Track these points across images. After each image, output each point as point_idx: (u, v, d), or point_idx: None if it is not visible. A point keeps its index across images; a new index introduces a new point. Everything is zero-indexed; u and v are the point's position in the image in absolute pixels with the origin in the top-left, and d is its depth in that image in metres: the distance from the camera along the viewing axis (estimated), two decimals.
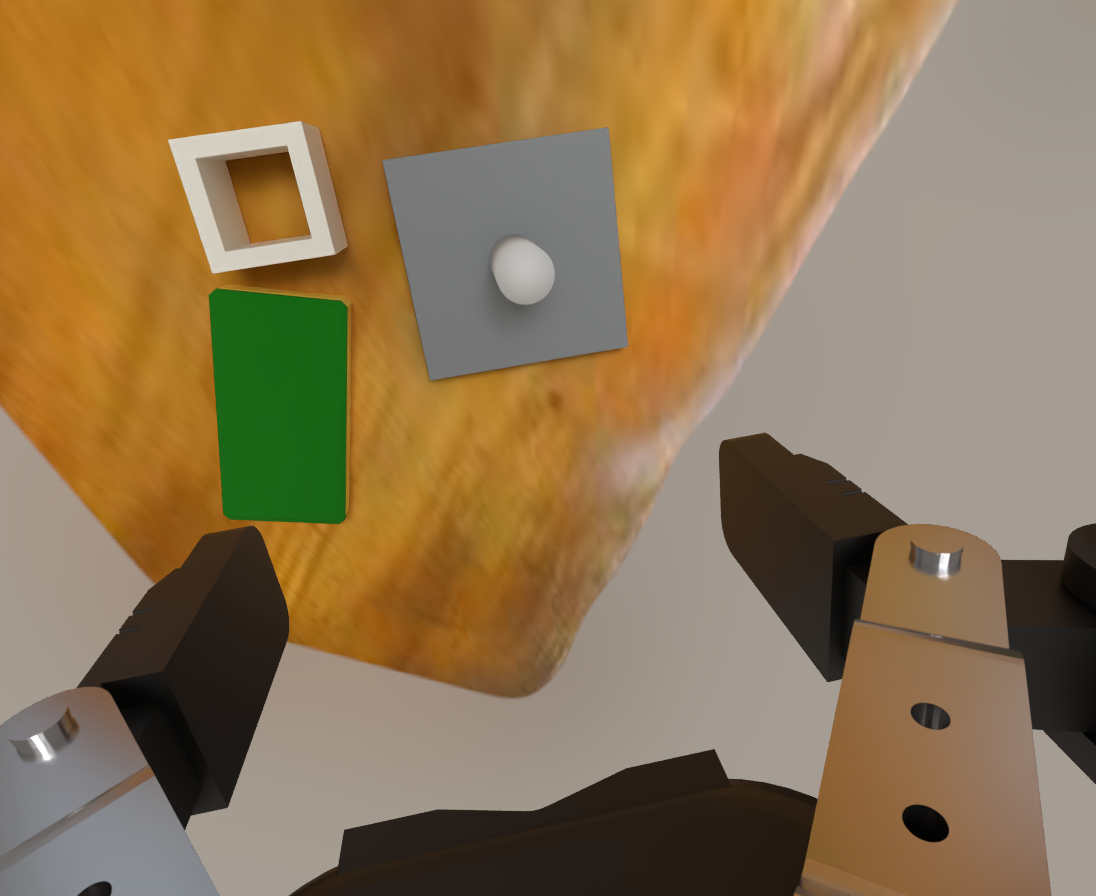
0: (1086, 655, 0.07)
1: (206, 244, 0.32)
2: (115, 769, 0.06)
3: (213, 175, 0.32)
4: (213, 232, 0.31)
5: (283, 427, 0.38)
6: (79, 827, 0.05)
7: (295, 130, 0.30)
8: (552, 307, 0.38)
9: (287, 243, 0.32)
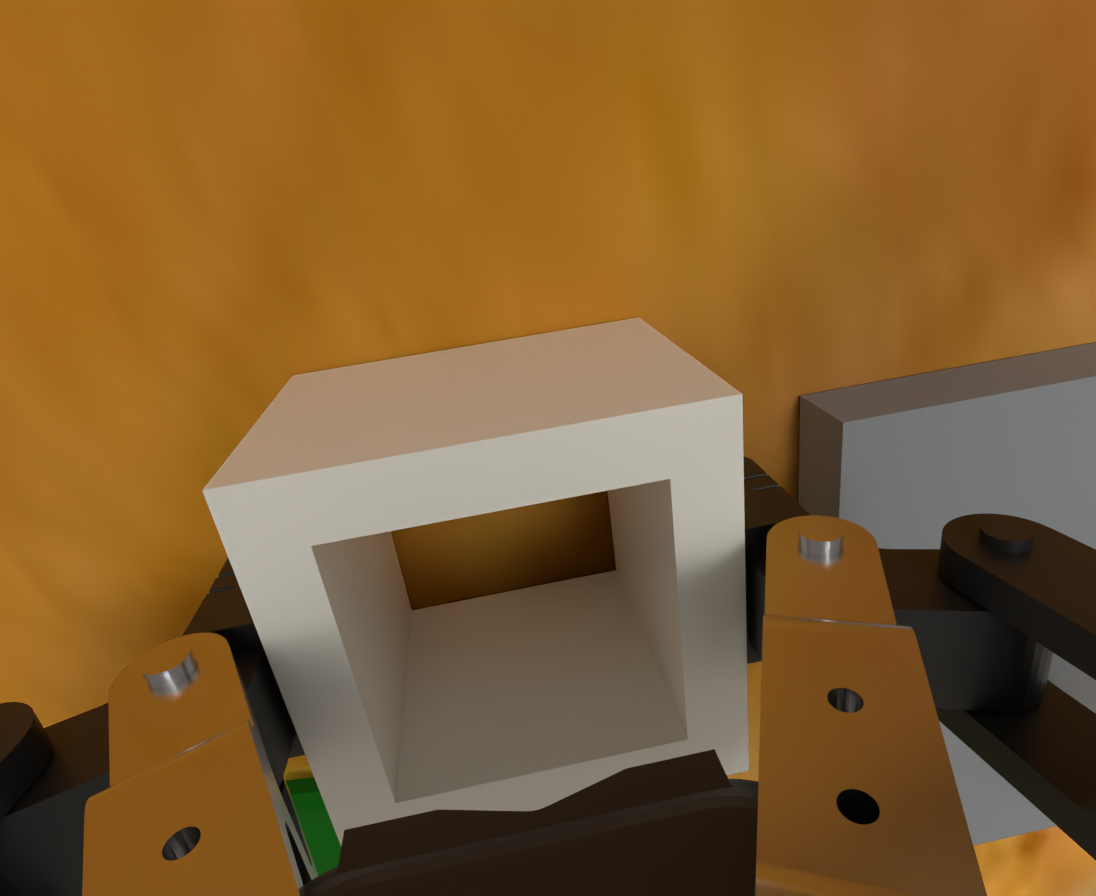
0: (953, 636, 0.07)
1: (332, 790, 0.09)
2: (247, 698, 0.07)
3: None
4: (360, 757, 0.09)
5: None
6: (182, 770, 0.05)
7: (713, 427, 0.08)
8: None
9: (605, 759, 0.09)
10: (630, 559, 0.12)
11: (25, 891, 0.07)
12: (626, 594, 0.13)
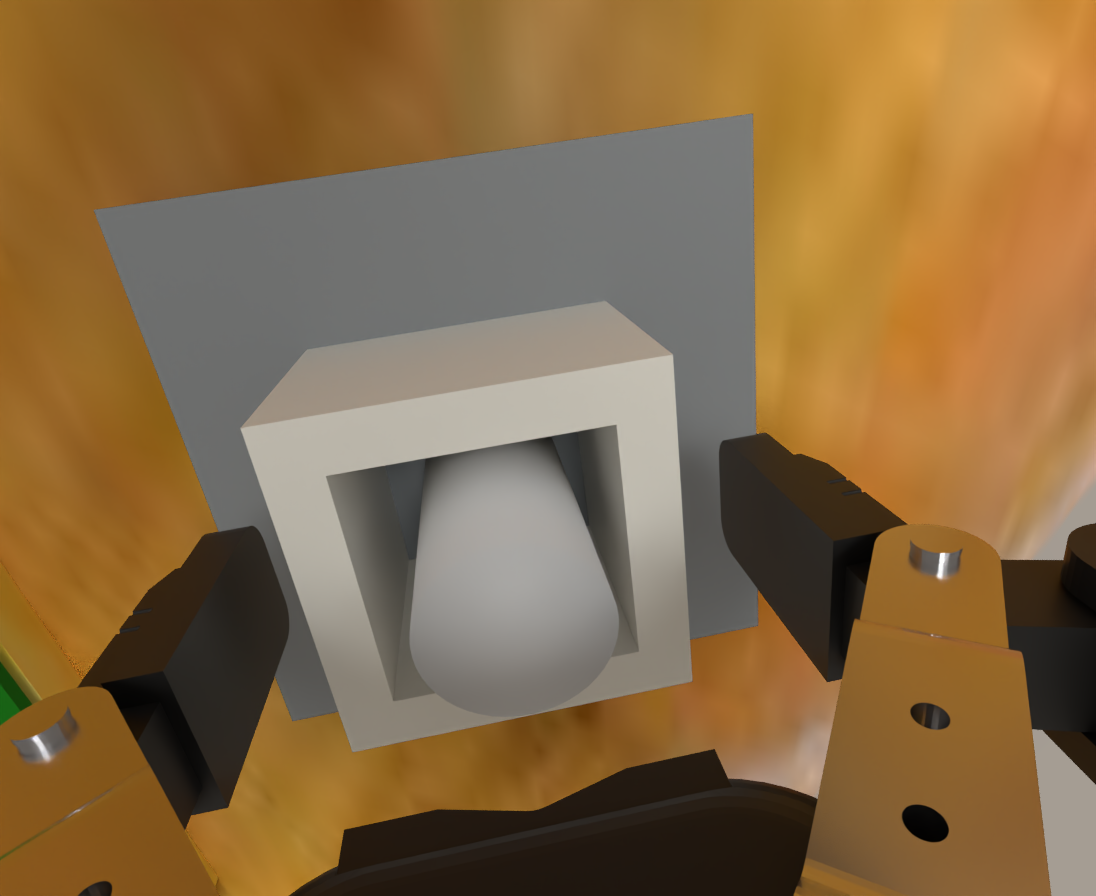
0: (1086, 655, 0.07)
1: (341, 689, 0.11)
2: (115, 769, 0.06)
3: None
4: (364, 660, 0.10)
5: None
6: (80, 827, 0.05)
7: (650, 382, 0.09)
8: None
9: None
10: (597, 510, 0.13)
11: None
12: (596, 544, 0.14)
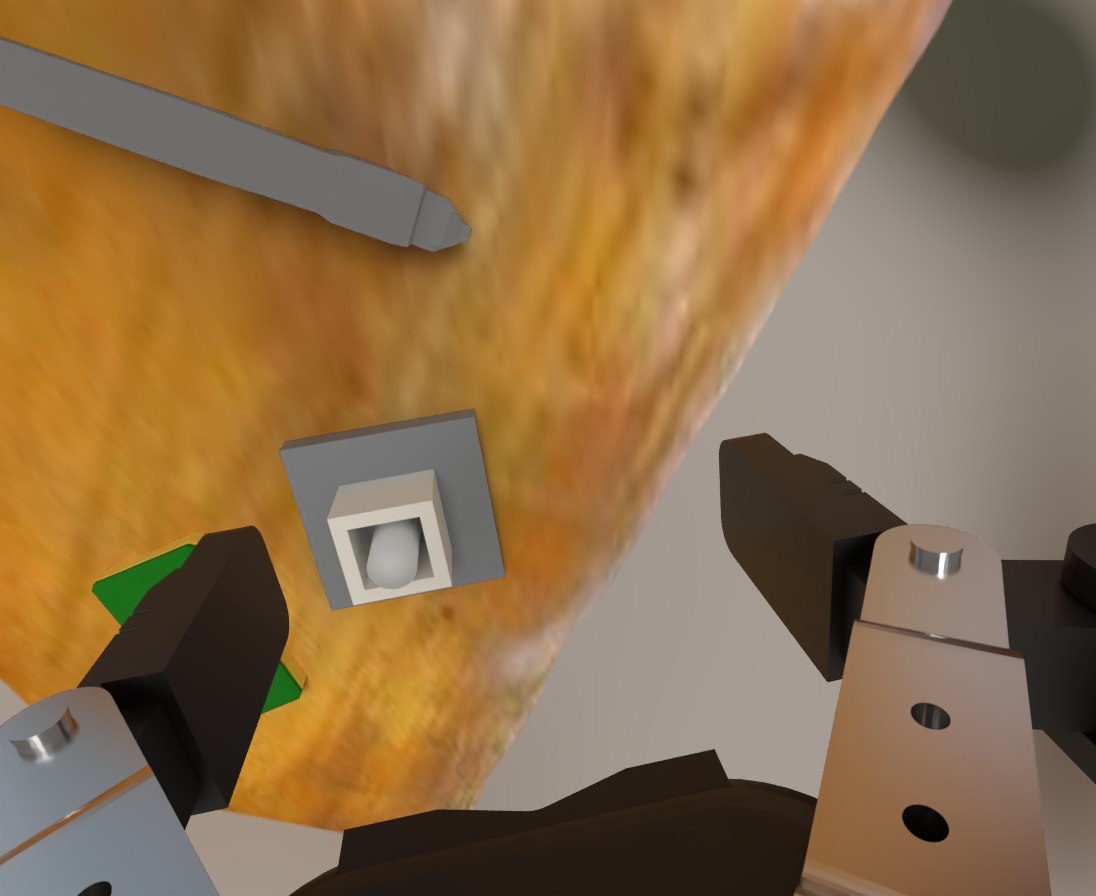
0: (1086, 655, 0.07)
1: (350, 586, 0.39)
2: (115, 769, 0.06)
3: None
4: (356, 577, 0.39)
5: None
6: (80, 827, 0.05)
7: (427, 506, 0.38)
8: None
9: (414, 581, 0.39)
10: None
11: None
12: None
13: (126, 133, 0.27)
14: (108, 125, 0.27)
